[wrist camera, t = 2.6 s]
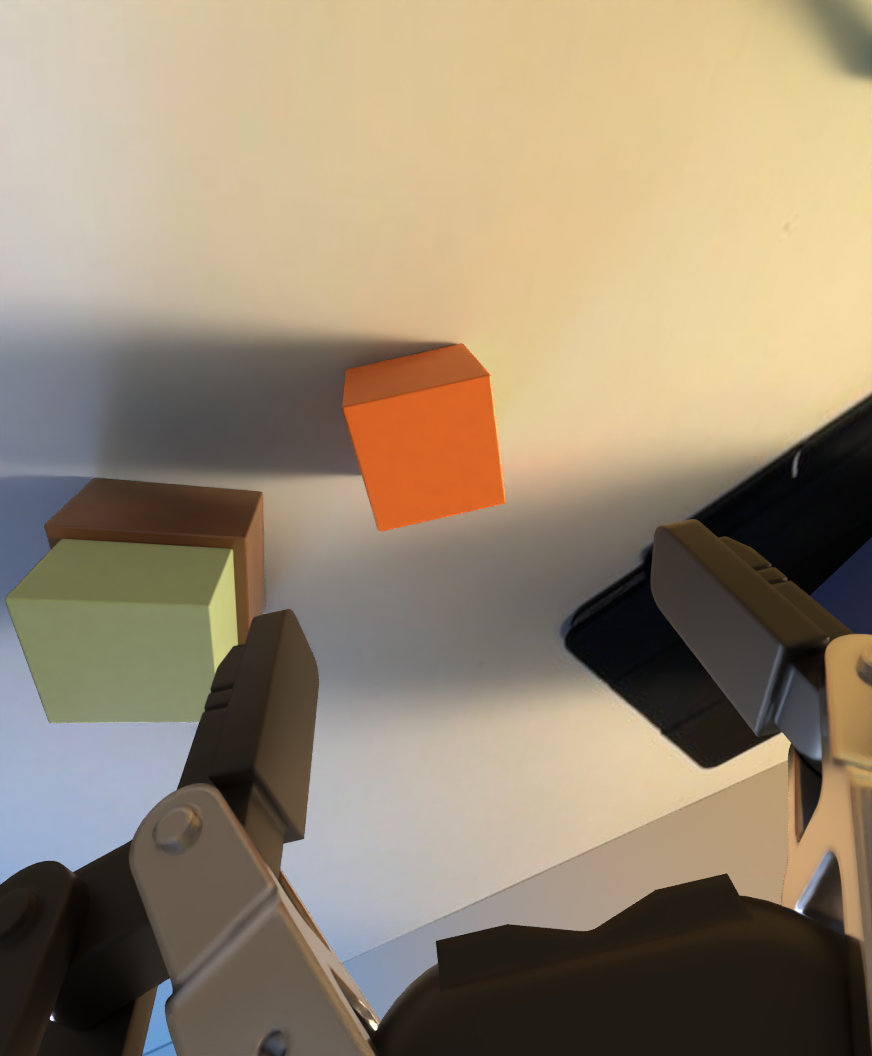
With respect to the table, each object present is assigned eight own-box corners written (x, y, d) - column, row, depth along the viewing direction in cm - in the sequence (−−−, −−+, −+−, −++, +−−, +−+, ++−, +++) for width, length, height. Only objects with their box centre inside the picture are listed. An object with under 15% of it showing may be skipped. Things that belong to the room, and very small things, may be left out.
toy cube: (375, 476, 23) (378, 532, 18) (345, 369, 20) (341, 407, 16) (479, 452, 23) (506, 503, 19) (463, 342, 20) (490, 373, 16)
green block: (92, 654, 21) (48, 724, 18) (60, 537, 18) (2, 598, 15) (239, 656, 22) (220, 723, 19) (233, 548, 19) (210, 606, 16)
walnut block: (119, 602, 24) (81, 662, 21) (93, 477, 21) (42, 524, 18) (265, 607, 26) (250, 664, 22) (263, 491, 22) (245, 538, 19)
